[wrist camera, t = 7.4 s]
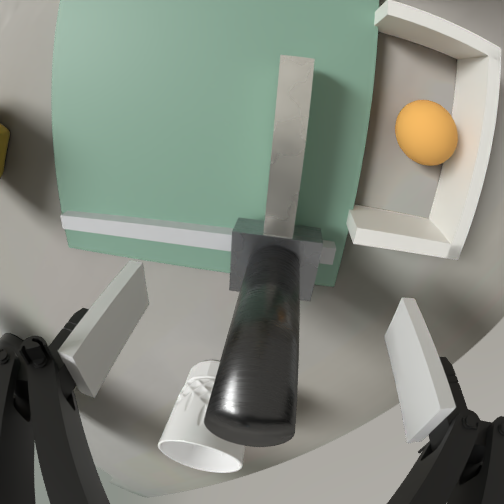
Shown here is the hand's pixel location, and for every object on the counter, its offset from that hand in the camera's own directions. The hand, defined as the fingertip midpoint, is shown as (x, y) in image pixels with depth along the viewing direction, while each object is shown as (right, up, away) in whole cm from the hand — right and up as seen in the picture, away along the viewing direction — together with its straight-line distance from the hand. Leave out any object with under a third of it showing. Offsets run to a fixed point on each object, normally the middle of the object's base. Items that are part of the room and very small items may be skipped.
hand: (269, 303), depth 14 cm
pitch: (-5, +12, +3) cm, 14 cm away
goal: (+10, +10, +2) cm, 14 cm away
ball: (+9, +9, 0) cm, 13 cm away
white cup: (-4, -11, +16) cm, 20 cm away
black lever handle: (+1, +7, +3) cm, 7 cm away
